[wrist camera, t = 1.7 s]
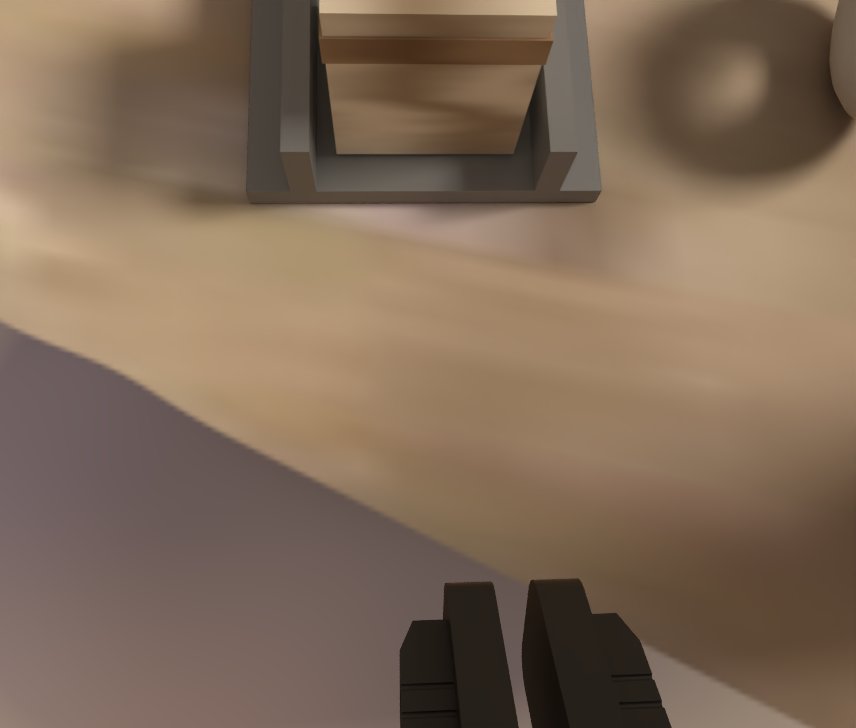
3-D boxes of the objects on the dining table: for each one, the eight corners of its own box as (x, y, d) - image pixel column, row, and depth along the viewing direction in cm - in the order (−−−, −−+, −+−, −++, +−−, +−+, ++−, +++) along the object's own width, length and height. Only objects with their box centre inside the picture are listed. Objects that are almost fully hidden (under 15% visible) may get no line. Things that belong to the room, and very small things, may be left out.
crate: (506, 2, 32) (543, -176, 24) (515, 156, 30) (560, 18, 22) (334, 0, 32) (317, -181, 24) (334, 156, 30) (315, 16, 22)
